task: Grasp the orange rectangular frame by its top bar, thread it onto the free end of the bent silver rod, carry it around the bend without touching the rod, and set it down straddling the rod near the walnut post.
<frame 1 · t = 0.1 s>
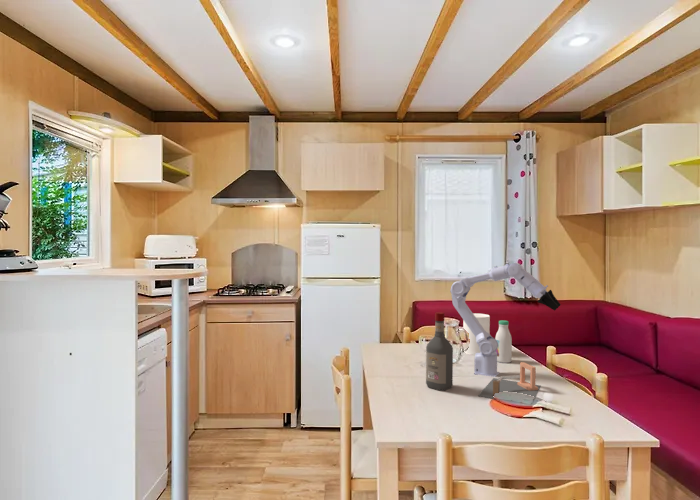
hand: (557, 307, 180), 32 cm above the table, tool tilted 50°, fingers open, 7 cm apart
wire: (501, 390, 173), resting on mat
orange rectangular frame: (527, 387, 176), resting on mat
liquor: (439, 387, 178), on the table
milk bottle: (503, 361, 217), on the table
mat: (510, 391, 172), on the table
canister: (476, 353, 233), on the table
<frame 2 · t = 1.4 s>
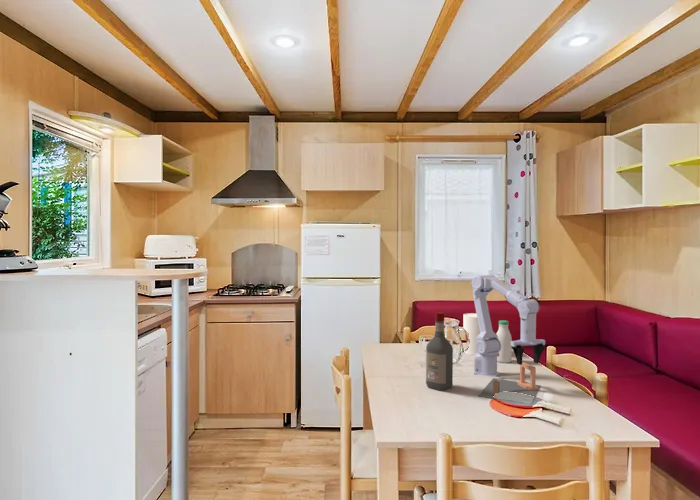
hand: (527, 363, 176), 10 cm above the table, tool pointing down, fingers open, 7 cm apart
nothing on the table moved.
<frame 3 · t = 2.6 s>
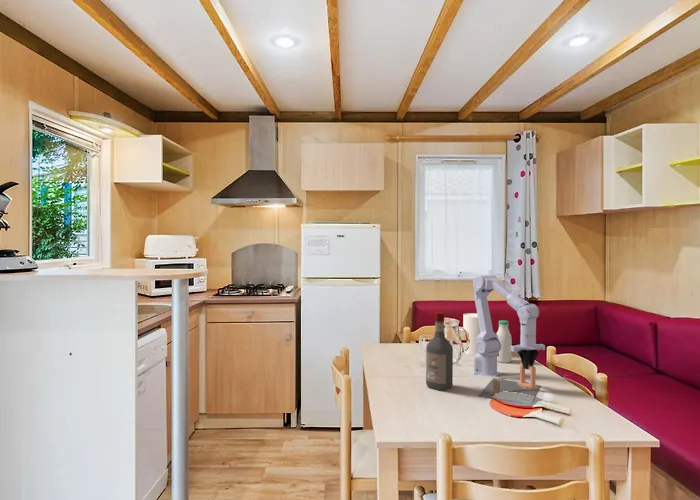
hand: (527, 368, 176), 8 cm above the table, tool pointing down, fingers closed on orange rectangular frame, 2 cm apart
orange rectangular frame: (527, 387, 176), resting on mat, touching gripper
everything else where it was.
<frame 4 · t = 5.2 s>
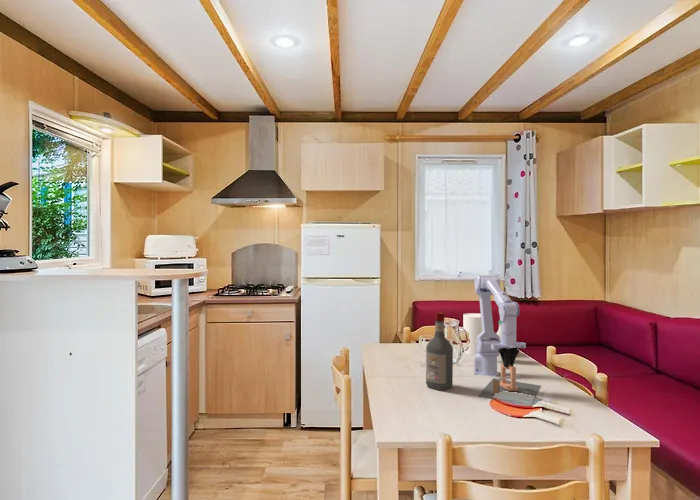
hand: (508, 366, 174), 9 cm above the table, tool pointing down, fingers closed on orange rectangular frame, 2 cm apart
orange rectangular frame: (508, 387, 174), point 1 cm above the table, touching gripper
everything else where it was.
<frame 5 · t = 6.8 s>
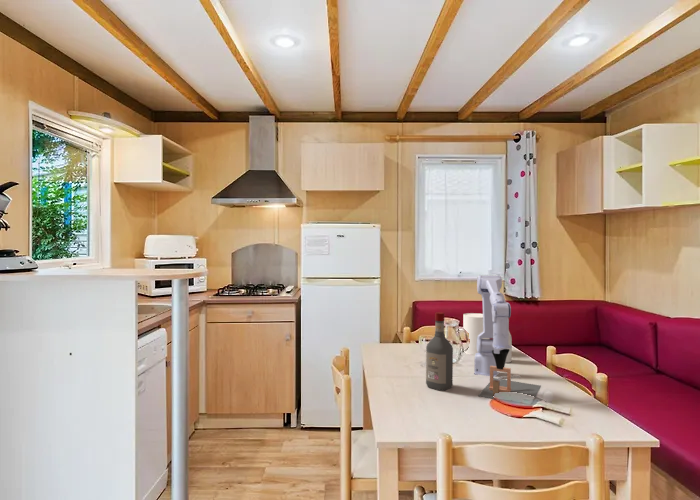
hand: (500, 368, 172), 9 cm above the table, tool pointing down, fingers closed on orange rectangular frame, 2 cm apart
orange rectangular frame: (500, 390, 172), point 1 cm above the table, touching gripper
everything else where it was.
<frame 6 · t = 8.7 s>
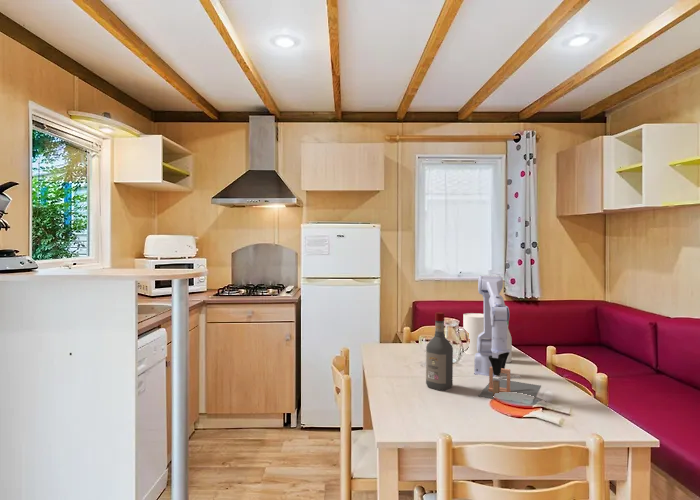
hand: (499, 372, 170), 8 cm above the table, tool pointing down, fingers open, 7 cm apart
orange rectangular frame: (499, 391, 171), resting on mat
everything else where it was.
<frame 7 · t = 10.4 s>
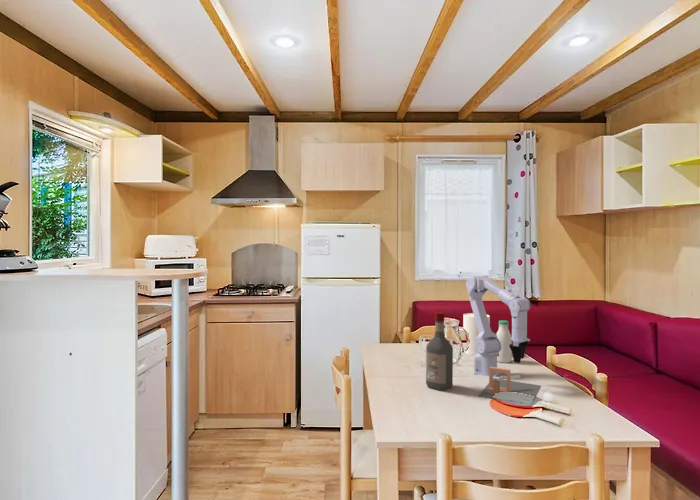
hand: (518, 360, 179), 10 cm above the table, tool pointing down, fingers open, 7 cm apart
nothing on the table moved.
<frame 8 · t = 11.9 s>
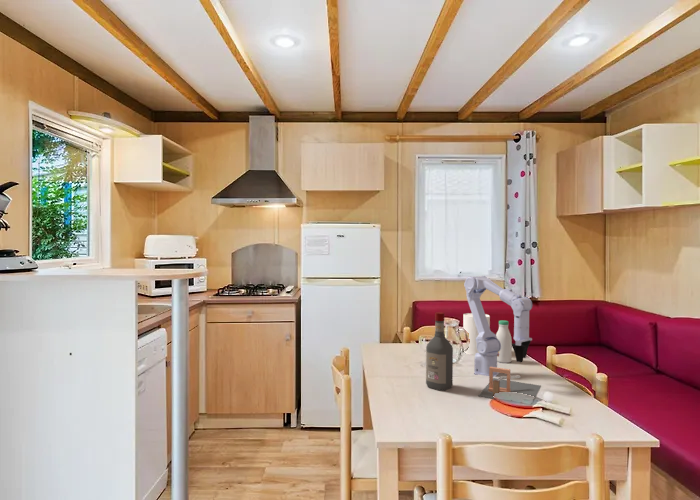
hand: (521, 359, 180), 10 cm above the table, tool pointing down, fingers open, 7 cm apart
nothing on the table moved.
at the end: orange rectangular frame 1.2 cm from the target spot on the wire, point 0.4 cm above the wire's base; orange rectangular frame touching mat; orange rectangular frame tilted 0° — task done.
